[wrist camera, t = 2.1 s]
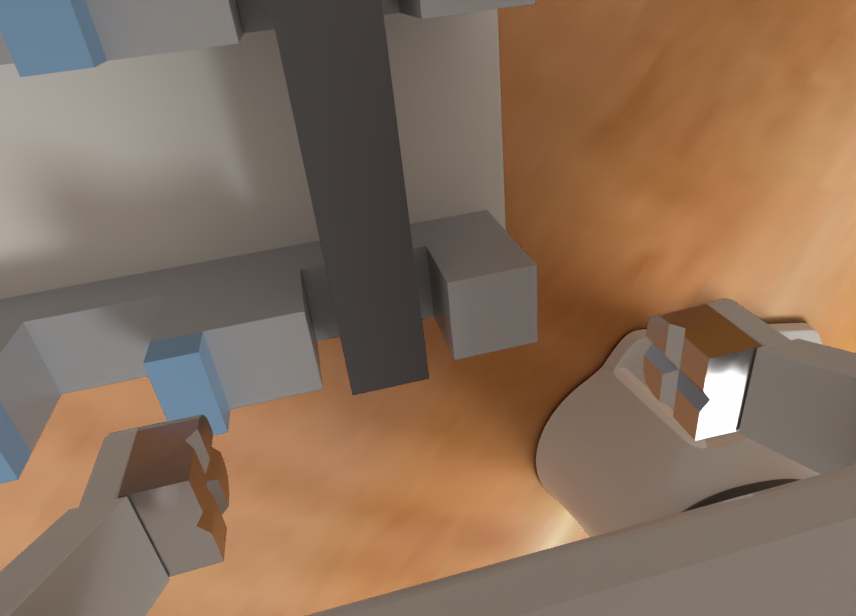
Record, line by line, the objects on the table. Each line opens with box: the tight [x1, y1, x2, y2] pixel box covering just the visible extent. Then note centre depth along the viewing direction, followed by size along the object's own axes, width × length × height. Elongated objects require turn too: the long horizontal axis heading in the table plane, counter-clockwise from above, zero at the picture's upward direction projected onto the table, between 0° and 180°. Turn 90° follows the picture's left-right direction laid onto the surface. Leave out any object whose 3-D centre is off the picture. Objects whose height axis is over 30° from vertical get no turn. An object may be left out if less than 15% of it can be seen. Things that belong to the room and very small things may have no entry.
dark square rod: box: [269, 0, 429, 395], centre depth 24 cm, size 4×20×4 cm, turn 6°
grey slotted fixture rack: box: [0, 0, 538, 484], centre depth 24 cm, size 28×20×10 cm
